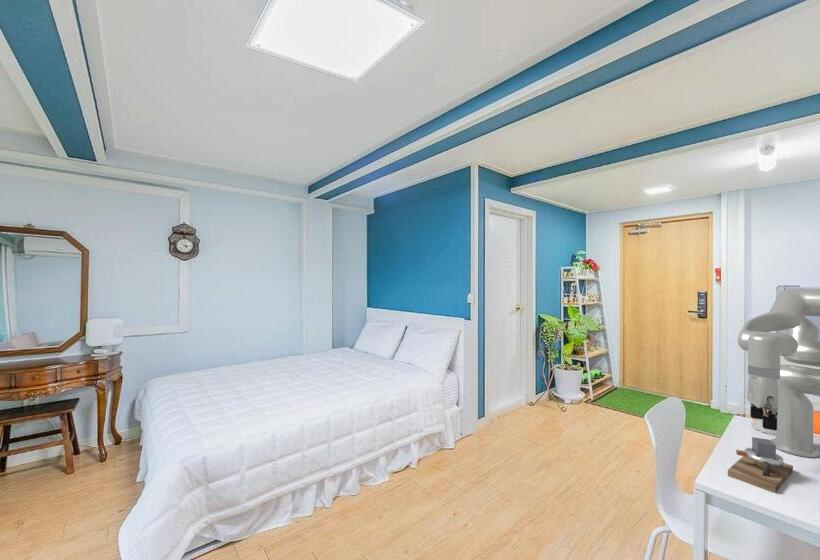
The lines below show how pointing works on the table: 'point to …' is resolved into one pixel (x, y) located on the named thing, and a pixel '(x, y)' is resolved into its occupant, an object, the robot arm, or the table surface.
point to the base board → (760, 473)
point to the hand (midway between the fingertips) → (763, 423)
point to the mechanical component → (759, 426)
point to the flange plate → (761, 459)
